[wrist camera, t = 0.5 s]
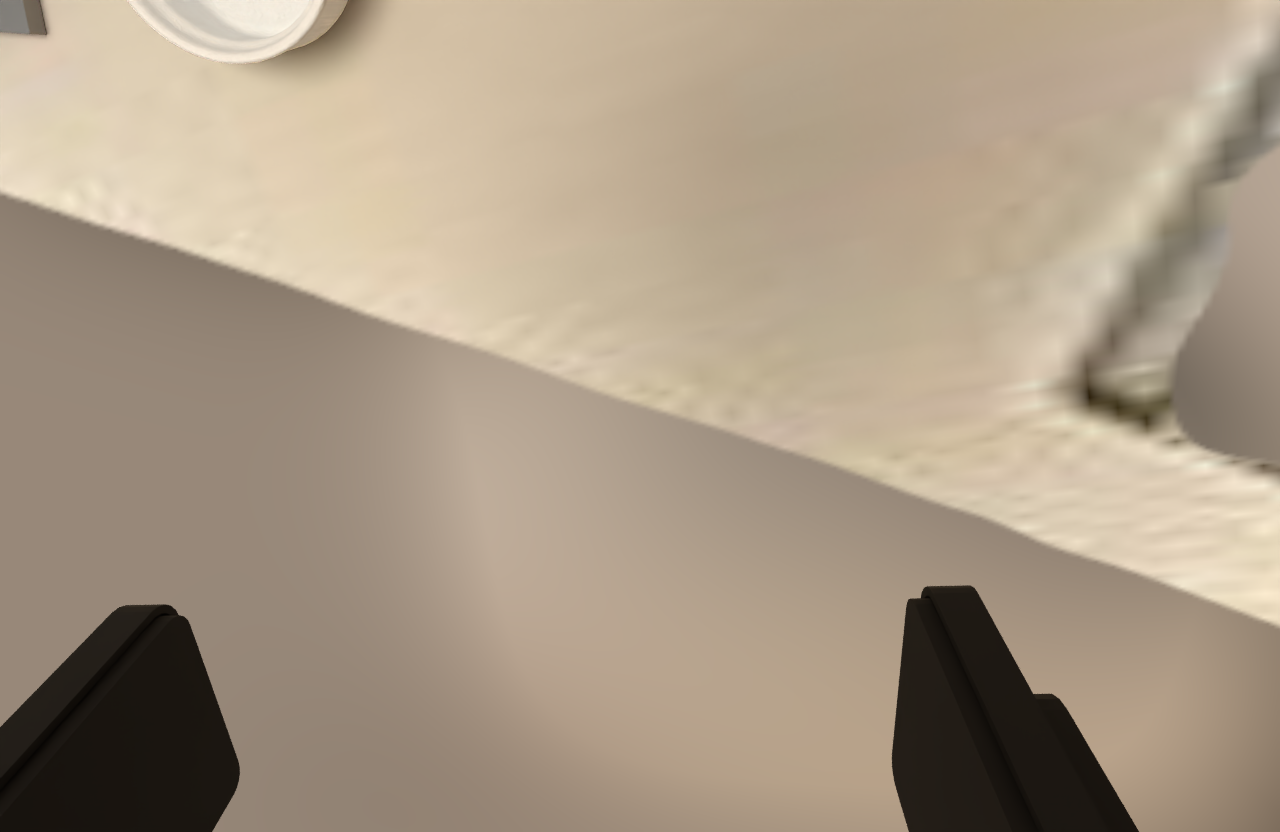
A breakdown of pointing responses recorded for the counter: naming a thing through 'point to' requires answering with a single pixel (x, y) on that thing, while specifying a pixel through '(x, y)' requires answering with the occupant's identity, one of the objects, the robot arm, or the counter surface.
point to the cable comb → (21, 17)
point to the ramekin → (239, 25)
